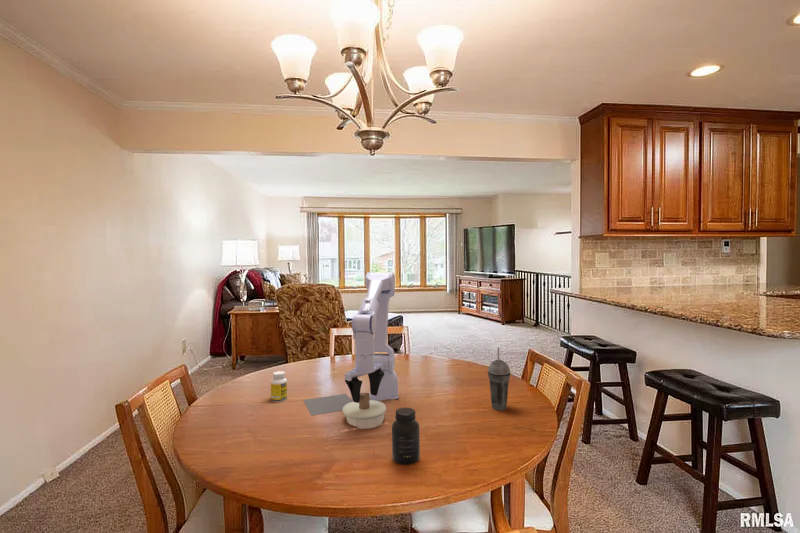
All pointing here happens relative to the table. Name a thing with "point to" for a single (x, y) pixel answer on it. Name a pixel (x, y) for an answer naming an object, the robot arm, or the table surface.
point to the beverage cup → (499, 383)
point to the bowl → (366, 422)
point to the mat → (327, 404)
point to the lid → (364, 408)
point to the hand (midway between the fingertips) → (365, 398)
